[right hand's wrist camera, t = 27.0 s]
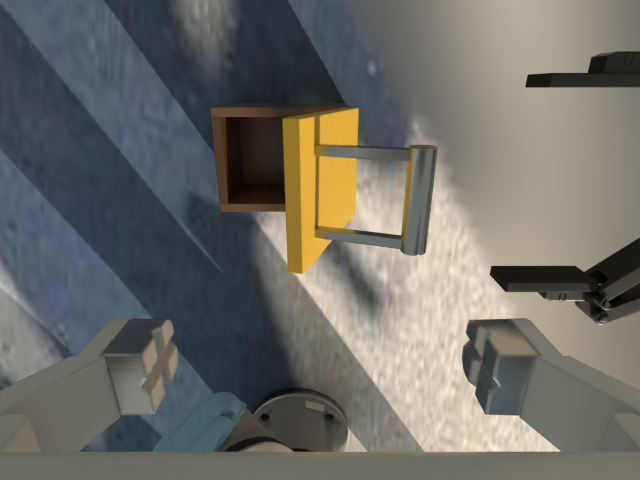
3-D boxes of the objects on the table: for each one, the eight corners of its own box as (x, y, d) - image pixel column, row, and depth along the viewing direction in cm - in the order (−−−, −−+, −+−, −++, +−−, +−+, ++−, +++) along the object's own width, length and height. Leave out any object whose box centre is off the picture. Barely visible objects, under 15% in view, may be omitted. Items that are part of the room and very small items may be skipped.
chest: (238, 188, 45) (220, 211, 36) (231, 103, 41) (209, 107, 33) (343, 188, 45) (349, 211, 36) (345, 103, 41) (352, 106, 33)
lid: (287, 272, 24) (418, 293, 22) (281, 117, 21) (438, 122, 18) (343, 213, 36) (434, 222, 34) (346, 107, 32) (447, 108, 30)
